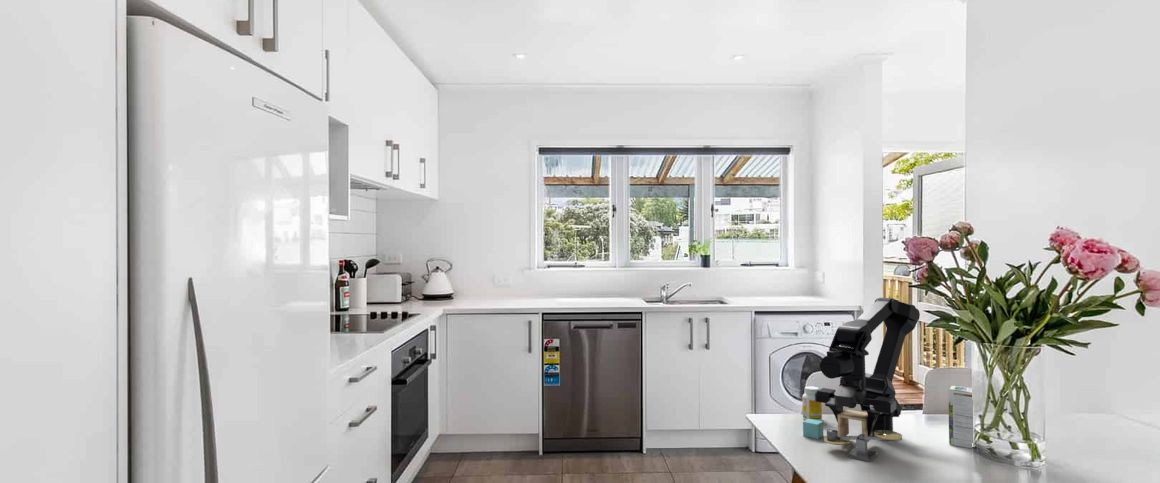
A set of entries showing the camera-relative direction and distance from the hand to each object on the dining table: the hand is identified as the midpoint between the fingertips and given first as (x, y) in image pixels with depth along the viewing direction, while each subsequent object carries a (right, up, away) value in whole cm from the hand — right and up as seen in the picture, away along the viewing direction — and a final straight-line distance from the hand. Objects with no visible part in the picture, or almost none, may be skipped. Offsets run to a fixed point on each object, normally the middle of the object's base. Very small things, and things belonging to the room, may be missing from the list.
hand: (855, 432), depth 147 cm
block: (-8, -4, +7) cm, 11 cm away
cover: (0, -2, 0) cm, 2 cm away
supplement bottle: (-2, -4, +22) cm, 23 cm away
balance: (-3, -3, -9) cm, 10 cm away
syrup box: (+28, -3, -2) cm, 28 cm away
